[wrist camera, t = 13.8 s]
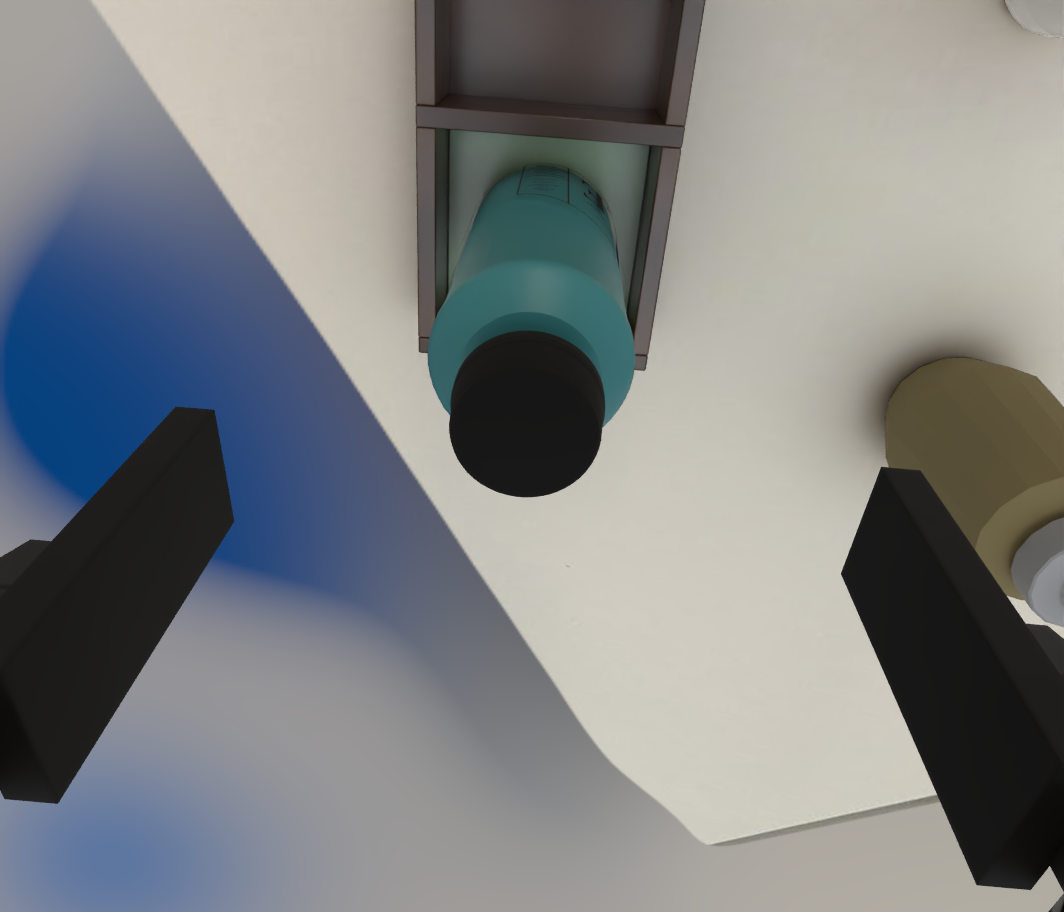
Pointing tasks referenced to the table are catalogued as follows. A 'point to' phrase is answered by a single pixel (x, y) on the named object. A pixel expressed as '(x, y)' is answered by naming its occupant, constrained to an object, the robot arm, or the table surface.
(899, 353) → the table surface
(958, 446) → the squeeze bottle
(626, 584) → the table surface
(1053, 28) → the drinking glass
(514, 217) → the beverage bottle
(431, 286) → the divided box
